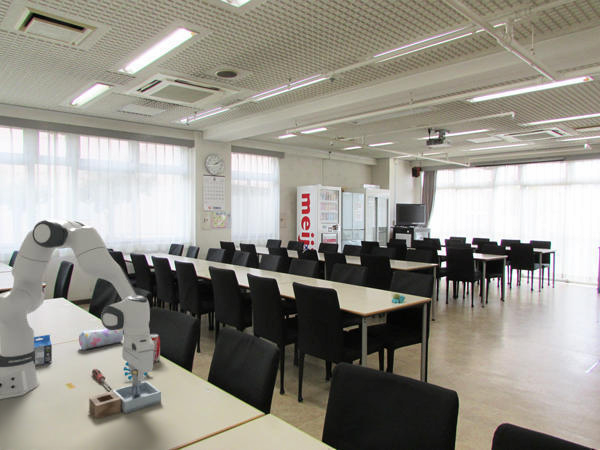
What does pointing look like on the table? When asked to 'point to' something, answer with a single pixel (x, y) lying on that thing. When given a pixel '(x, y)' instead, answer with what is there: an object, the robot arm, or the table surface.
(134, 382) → the pin
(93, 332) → the pencil case
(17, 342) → the robot arm
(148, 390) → the tray
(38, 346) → the label tape box
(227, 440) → the table surface
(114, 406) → the block
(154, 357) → the soda can
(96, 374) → the screwdriver
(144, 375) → the gear
